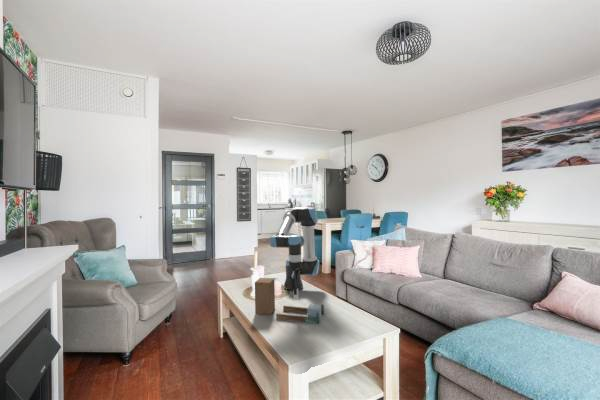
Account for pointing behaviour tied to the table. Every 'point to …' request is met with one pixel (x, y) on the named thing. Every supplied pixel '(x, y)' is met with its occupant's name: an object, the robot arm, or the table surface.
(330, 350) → the table surface
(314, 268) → the robot arm
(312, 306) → the slate block
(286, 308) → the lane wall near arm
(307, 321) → the lane wall camera side
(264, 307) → the wooden block
